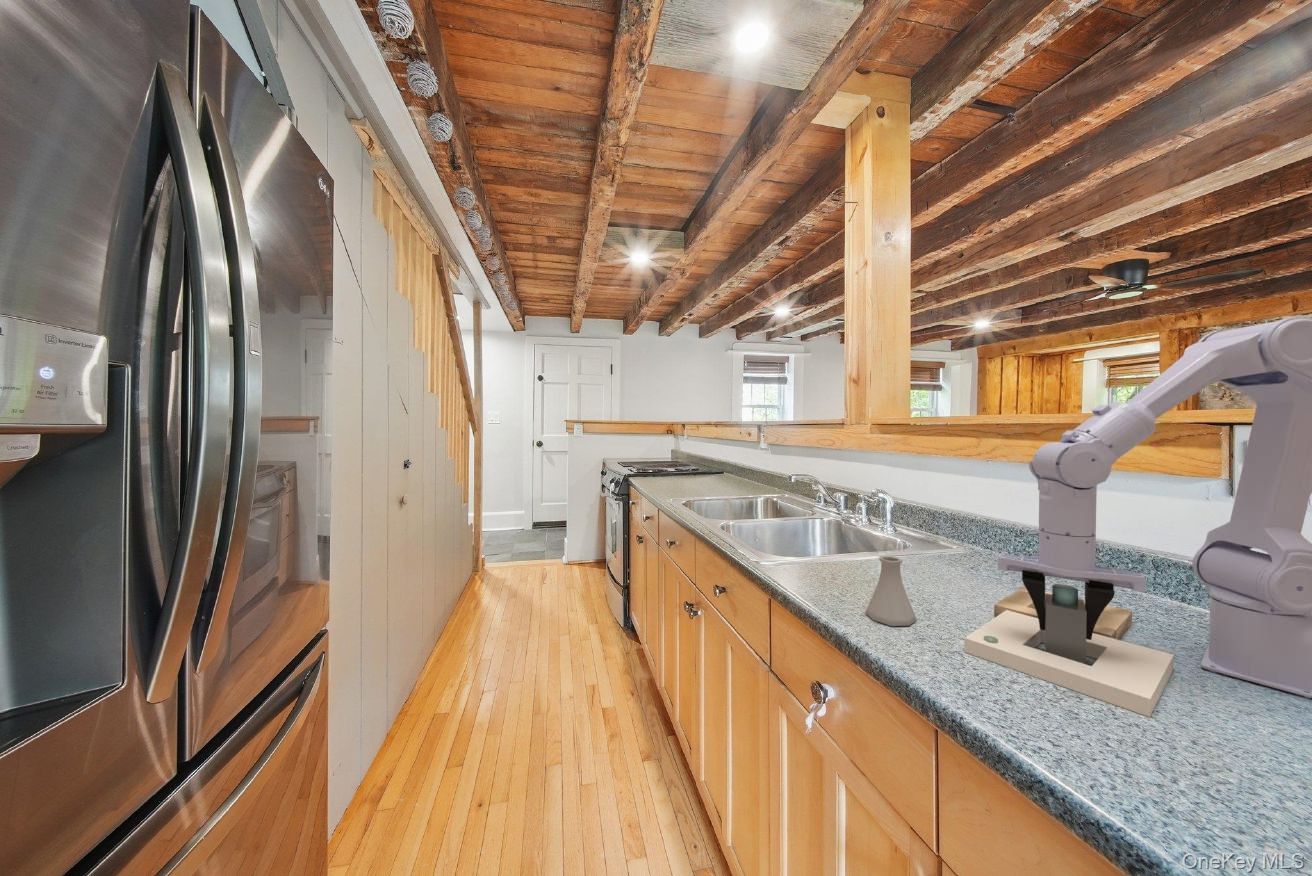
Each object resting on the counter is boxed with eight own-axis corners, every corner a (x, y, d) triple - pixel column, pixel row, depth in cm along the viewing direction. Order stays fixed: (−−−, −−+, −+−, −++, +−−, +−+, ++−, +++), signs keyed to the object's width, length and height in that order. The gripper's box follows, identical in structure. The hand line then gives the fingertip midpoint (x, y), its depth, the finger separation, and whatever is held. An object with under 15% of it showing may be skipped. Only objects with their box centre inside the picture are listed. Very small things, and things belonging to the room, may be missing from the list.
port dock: (1173, 669, 60) (1173, 652, 60) (1149, 717, 50) (1150, 696, 50) (1006, 622, 74) (1006, 608, 74) (964, 651, 65) (964, 635, 65)
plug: (1082, 650, 63) (1083, 585, 63) (1085, 665, 59) (1086, 596, 59) (1044, 641, 66) (1045, 579, 65) (1045, 655, 62) (1046, 589, 62)
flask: (856, 613, 79) (856, 555, 78) (889, 606, 81) (889, 550, 81) (892, 630, 72) (892, 567, 72) (926, 623, 74) (926, 561, 74)
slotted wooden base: (1132, 623, 73) (1132, 610, 73) (1111, 649, 65) (1111, 635, 65) (1023, 597, 85) (1023, 586, 85) (994, 616, 76) (994, 604, 76)
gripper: (1139, 533, 60) (1136, 636, 61) (1000, 520, 69) (999, 609, 70) (1149, 545, 55) (1147, 657, 55) (997, 528, 64) (996, 625, 64)
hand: (1064, 632), depth 62 cm, fingers closed on plug, 4 cm apart
